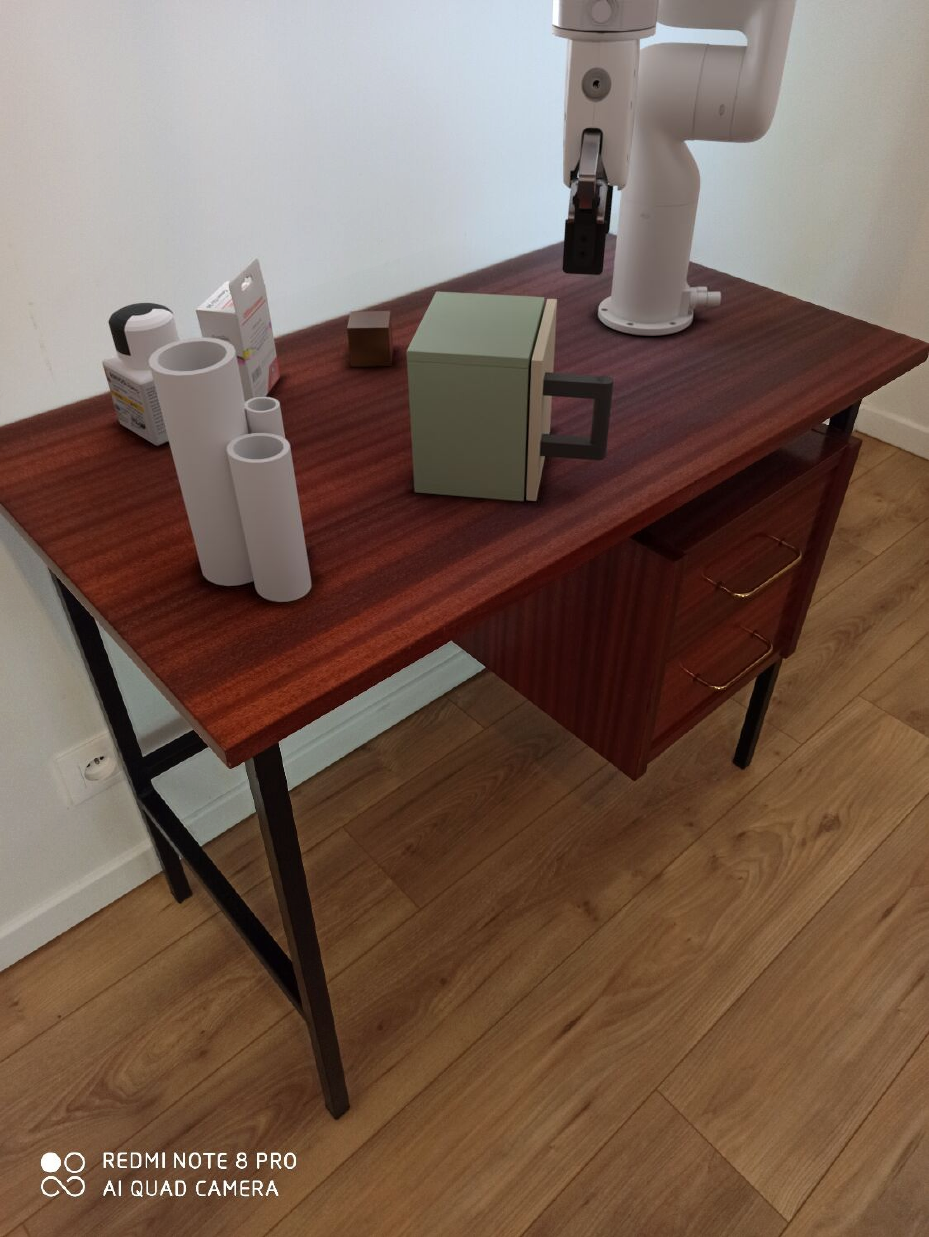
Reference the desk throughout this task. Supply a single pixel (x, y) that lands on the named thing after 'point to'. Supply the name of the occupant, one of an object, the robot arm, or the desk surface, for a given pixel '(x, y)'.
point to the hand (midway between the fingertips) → (586, 252)
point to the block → (370, 338)
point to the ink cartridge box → (244, 328)
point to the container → (138, 366)
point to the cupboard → (472, 394)
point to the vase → (232, 470)
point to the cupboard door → (561, 386)
